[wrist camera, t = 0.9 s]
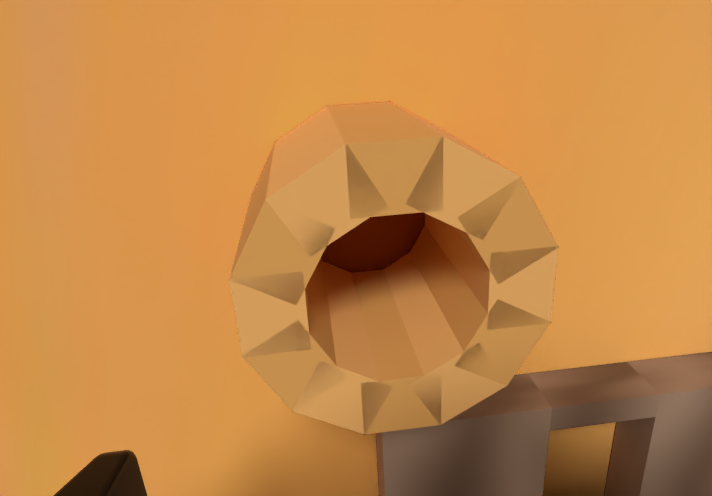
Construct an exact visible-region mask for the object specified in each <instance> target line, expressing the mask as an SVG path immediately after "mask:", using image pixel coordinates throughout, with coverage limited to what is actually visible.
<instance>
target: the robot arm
mask: <svg viewBox="0 0 712 496" xmlns="http://www.w3.org/2000/svg"><path fill="white" fill-rule="evenodd" d="M54 496H147V493H146V489H145V486H144V482H143V479H142V475H141V472H140V468H139V465H138V461H137V458H136V456H135V454H134V453H133V452H132V451H129V450H124V451H116V452H107V453H103V454H100V455H98V456H97V457H96V458H94V459H93V460H92V461H91V462H90V463H89V464H88V465H87V466H86V467H84V468H83V469H82V470H81V471H80V472H79V473H78V474H77V475H76V476H75V477H73V478H72V479H71V480H70V481H69V482H68V483H67V484H66V485H65V486H64V487H62V488H61V489H60V490H59V491H58V492H57V493H56V494H55V495H54Z"/></svg>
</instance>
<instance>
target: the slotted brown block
mask: <svg viewBox="0 0 712 496" xmlns="http://www.w3.org/2000/svg"><path fill="white" fill-rule="evenodd" d="M612 422H617V423H616V428H615V434H614V440H613V446H612V452H611V458H610V464H609V470H608V476H607V482H606V487H605V493H604V496H712V352H707V353H698V354H690V355H681V356H673V357H665V358H656V359H648V360H639V361H631V362H623V363H614V364H606V365H597V366H589V367H581V368H572V369H564V370H555V371H547V372H538V373H530V374H522V375H514V377H513V378H512V379H511V381H510V382H509V384H508V385H507V386H506V387H504V388H502V389H501V390H499V391H497V392H496V393H494V394H492V395H491V396H489V397H487V398H485V399H484V400H482V401H480V402H479V403H477V404H475V405H474V406H472V407H470V408H469V409H467V410H465V411H463V412H462V413H460V414H458V415H457V416H455V417H453V418H452V419H450V420H448V421H447V422H445V423H443V424H442V425H437V426H429V427H421V428H413V429H405V430H397V431H389V432H381V433H376V448H377V467H378V486H379V496H542V495H543V486H544V477H545V468H546V459H547V449H548V440H549V431H550V430H558V429H566V428H573V427H581V426H589V425H597V424H604V423H612Z"/></svg>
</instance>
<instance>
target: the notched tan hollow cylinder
mask: <svg viewBox="0 0 712 496" xmlns="http://www.w3.org/2000/svg"><path fill="white" fill-rule="evenodd" d="M421 212H423V213H425V226H424V228H423V229H422V231H421V233H420V235H419V236H418V238H417V240H416V242H415V244H414V245H413V247H412V249H411V251H410V252H409V253H408V254H406V255H405V256H403V257H402V258H400V259H398V260H397V261H395V262H394V263H392V264H391V265H389V266H388V267H386V268H385V269H383V270H374V271H364V272H354V273H351V272H348V271H346V270H344V269H341V268H339V267H336V266H334V265H331V264H329V263H327V262H324V261H322V259H321V256H322V254H323V252H324V250H325V248H326V246H327V245H329V244H330V243H332V242H333V241H335V240H337V239H338V238H340V237H341V236H343V235H344V234H346V233H347V232H349V231H350V230H352V229H353V228H355V227H356V226H358V225H359V224H361V223H362V222H364V221H365V220H367V219H368V218H370V217H376V216H387V215H399V214H410V213H421ZM557 255H558V245H557V243H556V242H555V240H554V238H553V236H552V234H551V232H550V230H549V228H548V226H547V225H546V223H545V221H544V219H543V217H542V215H541V213H540V211H539V210H538V208H537V206H536V204H535V202H534V200H533V198H532V196H531V194H530V193H529V191H528V189H527V187H526V185H525V183H524V181H523V179H522V177H521V176H519V175H518V174H516V173H514V172H513V171H511V170H509V169H508V168H506V167H505V166H503V165H501V164H500V163H498V162H496V161H495V160H493V159H491V158H490V157H488V156H486V155H485V154H483V153H481V152H480V151H478V150H476V149H475V148H473V147H471V146H470V145H468V144H467V143H465V142H463V141H462V140H460V139H458V138H457V137H455V136H453V135H452V134H450V133H448V132H447V131H445V130H443V129H441V128H439V127H437V126H435V125H434V124H432V123H430V122H428V121H426V120H424V119H422V118H420V117H418V116H416V115H414V114H412V113H411V112H409V111H407V110H405V109H403V108H401V107H399V106H397V105H395V104H393V103H391V102H390V101H388V102H375V103H361V104H347V105H333V106H326V107H325V108H323V109H322V110H320V111H319V112H317V113H316V114H315V115H313V116H312V117H310V118H309V119H307V120H306V121H305V122H303V123H302V124H300V125H299V126H297V127H296V128H294V129H293V130H292V131H290V132H289V133H287V134H286V135H284V136H283V137H282V138H280V139H279V140H277V141H276V142H275V144H274V146H273V148H272V150H271V153H270V155H269V157H268V159H267V162H266V164H265V166H264V168H263V171H262V173H261V175H260V177H259V180H258V182H257V184H256V186H255V189H254V191H253V193H252V195H251V198H250V202H249V206H248V209H247V213H246V217H245V221H244V224H243V228H242V232H241V236H240V240H239V243H238V247H237V251H236V255H235V259H234V262H233V266H232V270H231V274H230V277H229V281H230V287H231V293H232V299H233V305H234V311H235V317H236V323H237V329H238V335H239V341H240V347H241V353H242V357H243V358H244V359H245V360H246V361H247V363H248V364H249V365H250V366H251V367H252V368H253V369H254V370H255V371H256V372H257V373H258V374H259V375H260V377H261V378H262V379H263V380H264V381H265V382H266V383H267V384H268V385H269V386H270V387H271V388H272V389H273V391H274V392H275V393H276V394H277V395H278V396H279V397H280V398H281V399H282V400H283V401H284V402H285V403H286V405H287V406H288V407H289V408H290V409H291V410H292V411H293V412H296V413H299V414H302V415H305V416H309V417H312V418H315V419H318V420H321V421H324V422H327V423H330V424H333V425H336V426H340V427H343V428H346V429H349V430H352V431H355V432H358V433H361V434H364V435H365V434H373V433H381V432H389V431H397V430H405V429H413V428H421V427H429V426H437V425H442V424H443V423H445V422H447V421H448V420H450V419H452V418H453V417H455V416H457V415H458V414H460V413H462V412H463V411H465V410H467V409H469V408H470V407H472V406H474V405H475V404H477V403H479V402H480V401H482V400H484V399H485V398H487V397H489V396H491V395H492V394H494V393H496V392H497V391H499V390H501V389H502V388H504V387H506V386H507V385H508V384H509V382H510V381H511V379H512V378H513V377H514V375H515V374H516V372H517V371H518V369H519V368H520V366H521V365H522V364H523V362H524V361H525V359H526V358H527V356H528V355H529V353H530V352H531V350H532V349H533V348H534V346H535V345H536V343H537V342H538V340H539V339H540V337H541V336H542V335H543V333H544V332H545V330H546V329H547V327H548V326H549V324H550V323H551V315H552V305H553V295H554V285H555V275H556V265H557Z"/></svg>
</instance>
